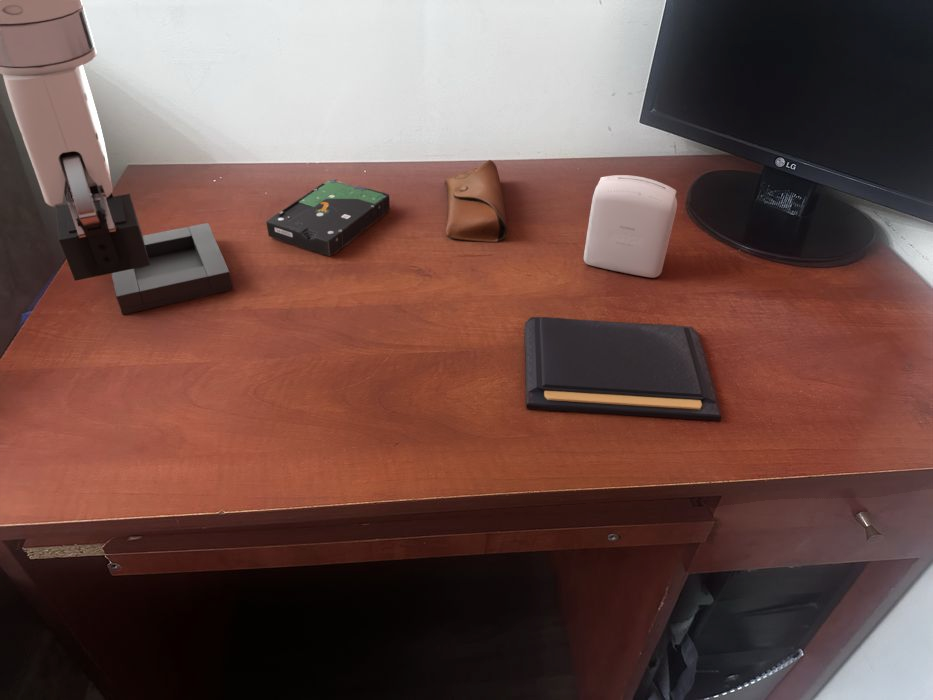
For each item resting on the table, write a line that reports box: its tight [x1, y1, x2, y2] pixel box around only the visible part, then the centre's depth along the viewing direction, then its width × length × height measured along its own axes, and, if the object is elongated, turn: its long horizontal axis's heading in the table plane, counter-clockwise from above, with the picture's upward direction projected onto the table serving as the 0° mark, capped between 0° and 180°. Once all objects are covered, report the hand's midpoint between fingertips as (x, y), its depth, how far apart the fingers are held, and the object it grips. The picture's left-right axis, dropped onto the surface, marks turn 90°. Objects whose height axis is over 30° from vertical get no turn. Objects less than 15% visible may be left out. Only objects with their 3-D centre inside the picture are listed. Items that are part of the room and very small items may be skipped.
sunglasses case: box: [444, 159, 508, 243], centre depth 102 cm, size 18×7×7 cm, turn 3°
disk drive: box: [265, 178, 391, 257], centre depth 97 cm, size 10×3×15 cm
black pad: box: [55, 193, 150, 281], centre depth 61 cm, size 6×6×4 cm
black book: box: [523, 316, 723, 422], centre depth 76 cm, size 20×2×15 cm
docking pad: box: [110, 222, 234, 316], centre depth 86 cm, size 12×12×3 cm
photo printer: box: [583, 174, 678, 279], centre depth 88 cm, size 10×4×12 cm, turn 70°
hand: (107, 249), depth 62 cm, fingers closed on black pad, 6 cm apart
